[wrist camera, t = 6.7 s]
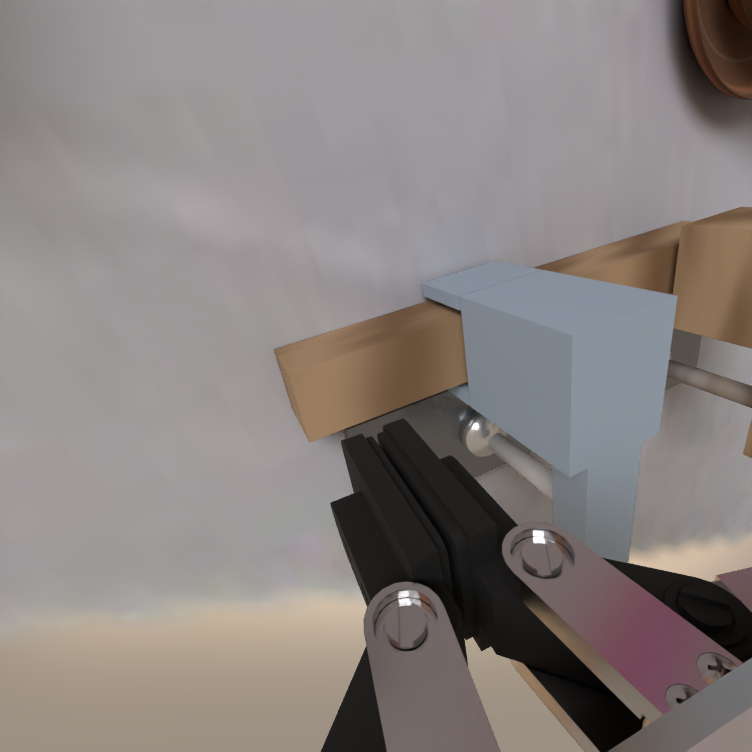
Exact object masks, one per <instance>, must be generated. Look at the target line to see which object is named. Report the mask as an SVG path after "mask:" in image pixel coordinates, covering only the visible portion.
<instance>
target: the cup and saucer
mask: <svg viewBox="0 0 752 752" xmlns="http://www.w3.org/2000/svg"><path fill="white" fill-rule="evenodd" d="M683 4H684V15H685V22H686V28H687V32H688V36H689V40H690V43H691V47H692V50H693V52H694V54H695V57H696V59H697V61H698V63H699V65H700V66H701V68H702V70H703V71H704V73H705V74H706V75H707V77H708V78H709V79H710V81H711V82H712V83H713V84H714V85H715V86H716V87H717V88H718V89H719V90H721V91H722V92H723V93H725V94H727V95H729V96H731V97H735V98H739V99H752V0H683Z"/></svg>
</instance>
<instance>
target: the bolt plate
mask: <svg viewBox="0 0 752 752" xmlns="http://www.w3.org/2000/svg"><path fill="white" fill-rule="evenodd" d="M700 340H701V335H698V334H694V333H690V332H687V331H683V330H679V329H675V328H673V334H672V341H671V349H670V356H669V359H670V360H673V361H677V362H680V363H683V364H686V365H689V366H692V367H695V368H696V364H697V358H698V352H699V346H700ZM679 383H681V382H679V381H677V380H674V379H671V378H668V377H667V378H666V386H665V390H666V389H668V388H670V387H672V386H675V385H677V384H679ZM402 418H404V419H405V420H406V421H407V422H408V423H409V424H410V425H411V426H412V428H413V429H414V430H415V431H416V432H417V433H418V435H419V436H420V437H421V438H422V439H423V440H424V441H425V443H426V444H427V445H428V446H429V447H430V448H431V450H432V451H433V452H434V453H435V454H436V455H437V456H438V458H439V459H441V458H444V457H446V456H449V455H450V456H453V457H454V458H455V459H457V460H458V461H459V463H460V464H461V465H462V466H463V467H464V468H465V469H466V470H467V471H468V472H469V473H470V474H471V476H472V477H473V478H474V477H476V476H478V475H480V474H482V473H485V472H487V471H489V470H491V469H493V468H496V467H498V466H500V465H502V464H504V463H506V462H505V461H503V460H502V459H501V458H500V457H499V456H497V455H496V454H495V453H494V452H492V451H491V450H490V449H489V448H488V442H489V439H490V438H491V437H492V436H493V435H494V434H496V433H501V434H503V435H504V436H505V437H507V438H508V439H510V440H511V441H512V442H514V443H515V444H516V445H518V446H519V447H520V448H522V449H523V450H524V451H526V452H527V453H528V452H530V451H531V450H530V449H529V448H527V447H526V446H524V445H523V444H522V443H520V442H519V441H517V440H516V439H515V438H513V437H512V436H511V435H509V434H508V433H506V432H505V431H504V430H502V429H501V428H499V427H498V426H497V425H495V424H494V423H492V422H491V421H490V420H488V419H487V418H486V417H484V416H483V415H481V414H480V413H479V412H477V411H476V410H474V409H473V408H472V407H471V406H469V405H468V404H466V403H465V402H463V401H462V400H461V399H459V398H458V397H456V396H455V395H454V394H452V393H451V392H450V391H448V390H445V391H442V392H440V393H437V394H434V395H432V396H429V397H426V398H424V399H421V400H419V401H416V402H413V403H411V404H408V405H406V406H403V407H400V408H398V409H395V410H393V411H390V412H387V413H385V414H382V415H380V416H377V417H374V418H372V419H369V420H367V421H364V422H361V423H359V424H356V425H354V426H351V427H348V428H346V429H343V430H344V434H345V438H346V439H347V438H350V437H353V436H355V435H358V434H361V433H362V434H363V435H364V436H365V438H367V437H369V436H372V437H373V438H374V439H375V441H376V442H377V444H378V445H379V443H378V438H377V434H378V433H380V432H383V425H385V424H388V423H391V422H394V421H396V420H399V419H402Z"/></svg>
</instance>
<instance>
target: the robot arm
mask: <svg viewBox="0 0 752 752" xmlns="http://www.w3.org/2000/svg"><path fill="white" fill-rule="evenodd" d="M377 438H378V443H379V445H378V444H377V442H376V441H375V439H374V438H373V437H372V436H369V437H367V438H365V436H364V435H363V434H362V433H361V434H358V435H355V436H353V437H350V438H347V439H344V440H342V441H341V445H342V449H343V453H344V456H345V460H346V464H347V468H348V472H349V475H350V479H351V483H352V487H353V491H354V494H351V495H349V496H346V497H344V498H341V499H339V500H336V501H334V502H331V503H330V504H331V508H332V511H333V515H334V518H335V521H336V525H337V528H338V531H339V534H340V537H341V540H342V543H343V546H344V548H345V551H346V554H347V557H348V559H349V562H350V564H351V567H352V569H353V572H354V574H355V577H356V580H357V582H358V585H359V587H360V590H361V592H362V595H363V597H364V600H365V603H366V605H367V609H366V613H365V616H364V635H365V640H366V648H365V650H364V653H363V655H362V657H361V660H360V662H359V664H358V667H357V669H356V671H355V674H354V676H353V678H352V680H351V683H350V685H349V688H348V690H347V692H346V694H345V697H344V699H343V702H342V704H341V706H340V708H339V711H338V713H337V715H336V718H335V720H334V722H333V725H332V727H331V729H330V731H329V734H328V736H327V738H326V741H325V743H324V745H323V748H322V750H321V752H501V751H500V749H499V746H498V743H497V741H496V738H495V736H494V733H493V731H492V728H491V725H490V723H489V721H488V718H487V715H486V713H485V710H484V707H483V705H482V702H481V700H480V697H479V695H478V693H477V689H476V687H475V684H474V682H473V679H472V677H471V674H470V672H469V669H468V663H467V655H466V647H465V640H464V638H465V639H466V640H467V639H469V638H471V637H473V638H474V640H475V641H476V643H477V645H478V646H479V648H480V650H481V651H483V650H485V649H487V648H489V647H490V646H491V647H492V648H493V649H494V651H495V653H496V654H497V655H500V656H503V657H506V658H509V659H510V661H511V663H512V664H513V666H514V667H515V669H516V671H517V672H518V673H519V674H520V676H521V677H522V678H523V679H524V680H525V681H526V682H527V684H528V685H529V686H530V687H531V689H532V690H533V691H534V692H535V693H536V694H537V696H538V697H539V698H540V699H541V700H542V702H543V703H544V704H545V705H546V706H547V708H548V709H549V710H550V711H551V712H552V714H553V715H554V716H555V717H556V718H557V720H558V721H559V722H560V723H561V724H562V726H563V727H564V728H565V729H566V730H567V731H568V733H569V734H570V735H571V736H572V737H573V739H574V740H575V741H576V742H577V743H578V745H579V746H580V747H581V748H582V749H583V750H584V752H752V567H751V568H746V569H742V570H738V571H733V572H729V573H725V574H720V575H717V576H716V578H715V581H713V582H709V581H706V580H702V579H699V578H696V577H691V576H686V575H681V574H677V573H672V572H668V571H663V570H658V569H653V568H649V567H644V566H639V565H635V564H630V563H625V562H620V561H616V560H611V559H606V558H602V557H600V556H599V555H598V554H596V553H595V552H594V551H592V550H591V549H590V548H588V547H587V546H586V545H584V544H583V543H581V542H580V541H579V540H577V539H576V538H575V537H573V536H572V535H571V534H569V533H568V532H566V531H564V530H563V529H561V528H559V527H557V526H554V525H551V524H548V523H540V522H531V523H524V524H521V525H519V526H518V525H517V524H516V523H515V522H514V521H513V520H512V519H511V518H510V516H509V515H508V514H507V513H506V512H505V511H504V510H503V509H502V508H501V507H500V506H499V505H498V504H497V502H496V501H495V500H494V499H493V498H492V497H491V496H490V495H489V494H488V493H487V492H486V491H485V490H484V488H483V487H482V486H481V485H480V484H479V483H478V482H477V481H476V480H475V479H474V478H473V477H472V476H471V474H470V473H469V472H468V471H467V470H466V469H465V468H464V467H463V466H462V465H461V464H460V463H459V461H458V460H457V459H455V458H454V457H453V456H450V455H449V456H446V457H444V458H441V459H439V458H438V456H437V455H436V454H435V453H434V452H433V451H432V450H431V448H430V447H429V446H428V445H427V444H426V443H425V441H424V440H423V439H422V438H421V437H420V436H419V435H418V433H417V432H416V431H415V430H414V429H413V428H412V426H411V425H410V424H409V423H408V422H407V421H406V420H405V419H404V418H402V419H399V420H396V421H394V422H391V423H388V424H385V425H383V432H380V433H378V434H377Z"/></svg>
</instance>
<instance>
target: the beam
mask: <svg viewBox="0 0 752 752" xmlns="http://www.w3.org/2000/svg"><path fill="white" fill-rule="evenodd" d="M535 268H536V269H541V270H546V271H551V272H557V273H562V274H567V275H572V276H577V277H583V278H588V279H593V280H598V281H603V282H609V283H614V284H619V285H624V286H630V287H635V288H640V289H645V290H650V291H656V292H661V293H666V294H671V295H676V296H678V297H677V304H676V312H675V319H674V326H673V328H675V329H679V330H683V331H687V332H690V333H694V334H698V335H702V336H706V337H710V338H713V339H717V340H721V341H725V342H729V343H733V344H737V345H740V346H744V347H748V348H752V207H739V208H736V209H733V210H730V211H727V212H723V213H720V214H717V215H714V216H711V217H708V218H705V219H701V220H698V221H695V222H692V221H681V222H678V223H675V224H672V225H669V226H665V227H662V228H659V229H656V230H653V231H649V232H646V233H643V234H640V235H637V236H634V237H630V238H627V239H624V240H621V241H618V242H615V243H611V244H608V245H605V246H602V247H599V248H595V249H592V250H589V251H586V252H583V253H580V254H576V255H573V256H570V257H567V258H564V259H560V260H557V261H554V262H551V263H548V264H545V265H541V266H538V267H535ZM274 352H275V355H276V358H277V361H278V364H279V368H280V371H281V374H282V377H283V380H284V383H285V387H286V390H287V393H288V396H289V399H290V402H291V406H292V409H293V411H294V413H295V415H296V417H297V419H298V421H299V423H300V425H301V427H302V429H303V431H304V433H305V435H306V437H307V439H308V441H309V442H312V441H315V440H317V439H320V438H322V437H325V436H328V435H330V434H333V433H335V432H338V431H341V430H343V429H346V428H348V427H351V426H354V425H356V424H359V423H361V422H364V421H367V420H369V419H372V418H374V417H377V416H380V415H382V414H385V413H387V412H390V411H393V410H395V409H398V408H400V407H403V406H406V405H408V404H411V403H413V402H416V401H419V400H421V399H424V398H426V397H429V396H432V395H434V394H437V393H440V392H442V391H445V390H447V389H450V388H453V387H455V386H458V385H460V384H463V383H466V382H468V375H467V365H466V355H465V345H464V335H463V324H462V314H461V310H457V309H455V308H452V307H450V306H447V305H445V304H442V303H439V302H437V301H434V300H430V301H427V302H424V303H420V304H417V305H414V306H411V307H408V308H405V309H401V310H398V311H395V312H392V313H389V314H385V315H382V316H379V317H376V318H373V319H370V320H366V321H363V322H360V323H357V324H354V325H350V326H347V327H344V328H341V329H338V330H335V331H331V332H328V333H325V334H322V335H319V336H315V337H312V338H309V339H306V340H303V341H300V342H296V343H293V344H290V345H287V346H284V347H280V348H277V349H274ZM667 377H668V378H671V379H674V380H677V381H679V382H682V383H685V384H687V385H690V386H693V387H696V388H698V389H701V390H704V391H707V392H709V393H712V394H715V395H718V396H720V397H723V398H726V399H729V400H731V401H734V402H737V403H739V404H742V405H745V406H748V407H750V408H752V386H750V385H747V384H744V383H741V382H738V381H735V380H732V379H729V378H726V377H722V376H719V375H716V374H713V373H710V372H707V371H704V370H701V369H698V368H695V367H692V366H689V365H686V364H683V363H680V362H677V361H673V360H670V359H669V363H668V371H667ZM743 454H744V455H746V456H748V457H750V458H752V420H751V424H750V428H749V432H748V436H747V440H746V444H745V448H744V452H743Z"/></svg>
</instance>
